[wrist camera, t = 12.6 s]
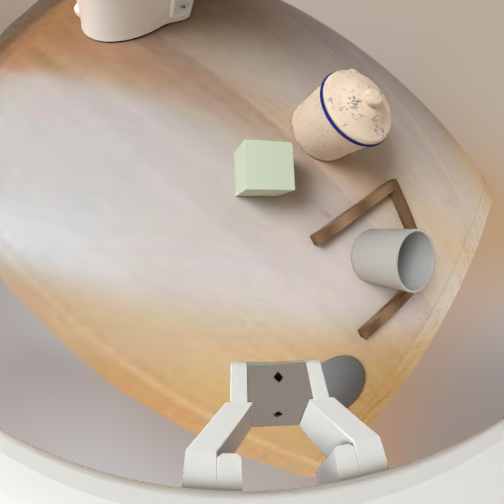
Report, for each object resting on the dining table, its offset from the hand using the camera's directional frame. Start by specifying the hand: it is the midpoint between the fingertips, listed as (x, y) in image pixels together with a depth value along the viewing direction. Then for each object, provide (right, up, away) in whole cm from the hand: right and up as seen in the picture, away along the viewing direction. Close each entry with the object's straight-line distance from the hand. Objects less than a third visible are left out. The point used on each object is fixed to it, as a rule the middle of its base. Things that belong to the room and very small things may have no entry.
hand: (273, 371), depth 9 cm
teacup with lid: (+9, +21, +24) cm, 33 cm away
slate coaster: (+11, -15, +27) cm, 33 cm away
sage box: (0, +13, +22) cm, 26 cm away
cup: (+17, +3, +28) cm, 32 cm away
